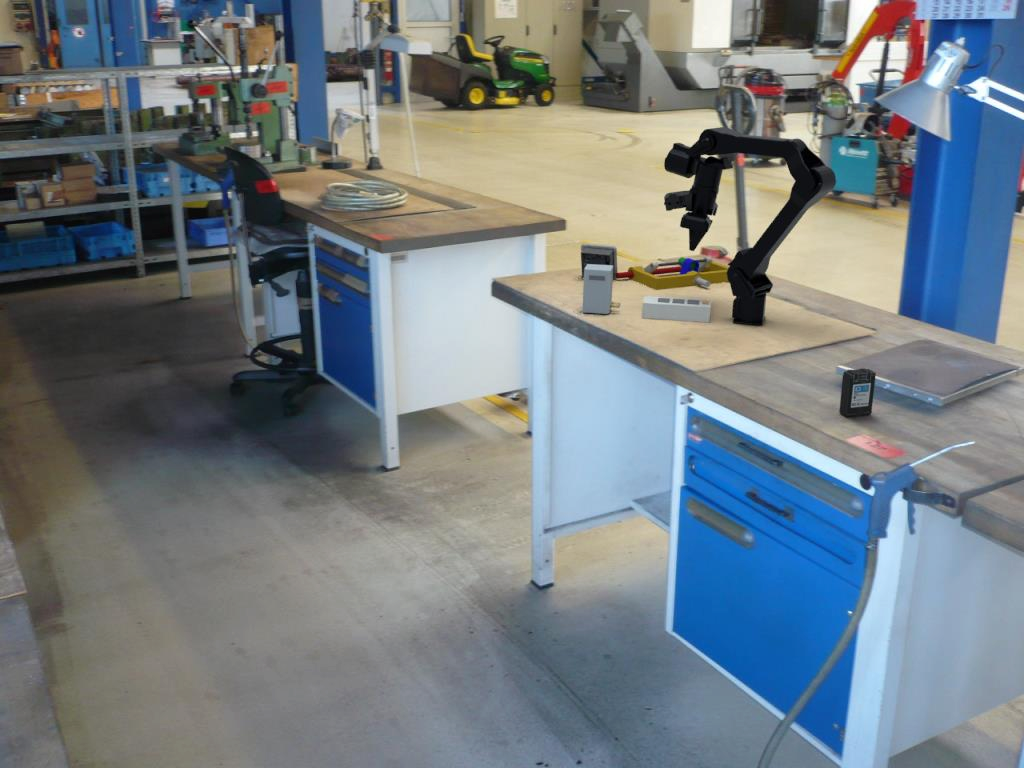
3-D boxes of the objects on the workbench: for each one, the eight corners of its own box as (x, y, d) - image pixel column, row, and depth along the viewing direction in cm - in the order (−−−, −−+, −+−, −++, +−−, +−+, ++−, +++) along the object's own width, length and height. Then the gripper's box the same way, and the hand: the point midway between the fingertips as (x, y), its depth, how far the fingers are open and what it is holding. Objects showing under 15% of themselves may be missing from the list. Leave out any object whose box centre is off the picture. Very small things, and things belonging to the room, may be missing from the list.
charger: (620, 308, 247) (622, 266, 243) (618, 314, 241) (620, 271, 238) (585, 306, 248) (587, 264, 245) (582, 312, 243) (583, 269, 240)
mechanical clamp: (614, 257, 273) (711, 248, 285) (613, 281, 275) (709, 271, 287) (652, 273, 257) (753, 262, 270) (651, 298, 259) (751, 286, 272)
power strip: (711, 303, 253) (712, 288, 252) (709, 322, 237) (710, 306, 236) (647, 299, 256) (648, 284, 254) (641, 318, 240) (642, 301, 239)
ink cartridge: (845, 418, 182) (850, 374, 180) (838, 413, 184) (843, 370, 182) (871, 415, 183) (876, 371, 181) (864, 411, 186) (868, 367, 183)
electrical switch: (618, 279, 275) (618, 244, 271) (612, 285, 271) (613, 250, 267) (583, 275, 278) (583, 241, 275) (577, 281, 274) (577, 247, 270)
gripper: (677, 168, 248) (663, 232, 254) (664, 185, 231) (650, 253, 238) (724, 178, 245) (709, 242, 252) (715, 196, 229) (699, 264, 236)
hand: (691, 250), depth 244 cm, fingers closed
